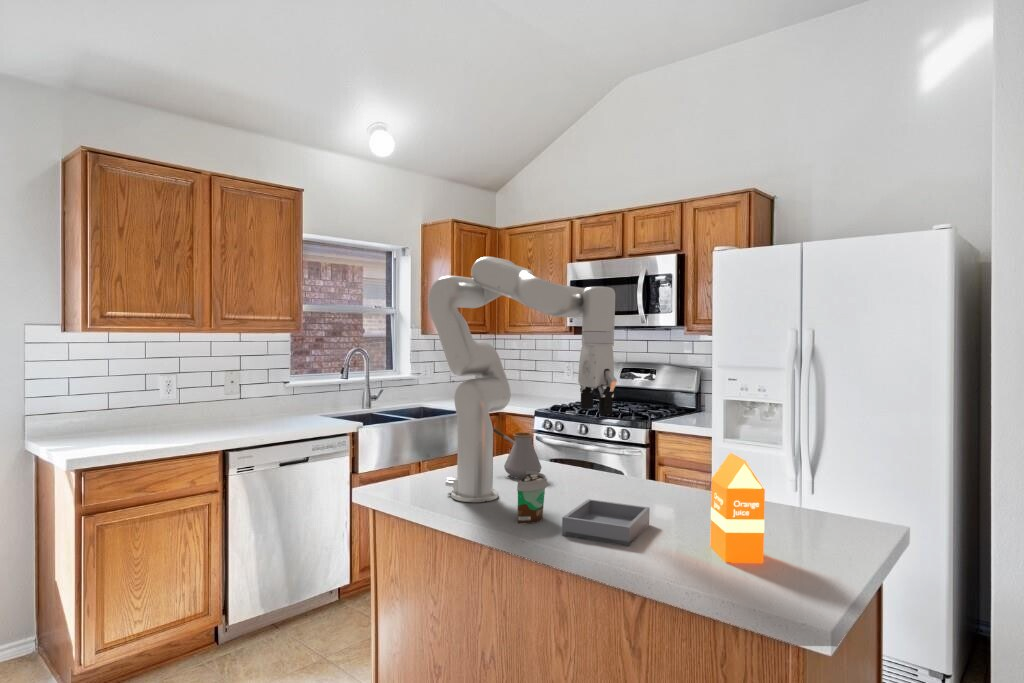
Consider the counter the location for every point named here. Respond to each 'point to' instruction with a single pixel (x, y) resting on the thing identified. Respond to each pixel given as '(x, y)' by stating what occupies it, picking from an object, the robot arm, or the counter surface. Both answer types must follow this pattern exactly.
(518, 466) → the coffee pot
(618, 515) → the grey bin
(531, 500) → the food container
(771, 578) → the counter surface
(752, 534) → the orange juice
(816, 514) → the counter surface
